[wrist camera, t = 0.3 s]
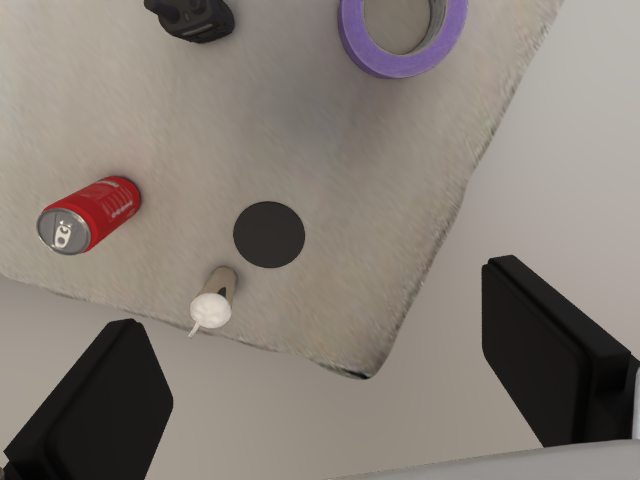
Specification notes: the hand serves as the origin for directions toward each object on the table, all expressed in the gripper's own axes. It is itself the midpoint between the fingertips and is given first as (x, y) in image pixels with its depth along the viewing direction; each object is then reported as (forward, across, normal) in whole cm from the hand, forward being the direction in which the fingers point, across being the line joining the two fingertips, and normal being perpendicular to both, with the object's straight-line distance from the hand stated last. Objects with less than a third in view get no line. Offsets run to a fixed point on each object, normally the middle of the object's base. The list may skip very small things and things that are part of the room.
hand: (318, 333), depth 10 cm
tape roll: (+37, -11, -11) cm, 40 cm away
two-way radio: (+37, +8, -14) cm, 40 cm away
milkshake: (+37, +14, +16) cm, 43 cm away
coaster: (+37, +7, +11) cm, 39 cm away
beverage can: (+37, +23, +2) cm, 44 cm away
